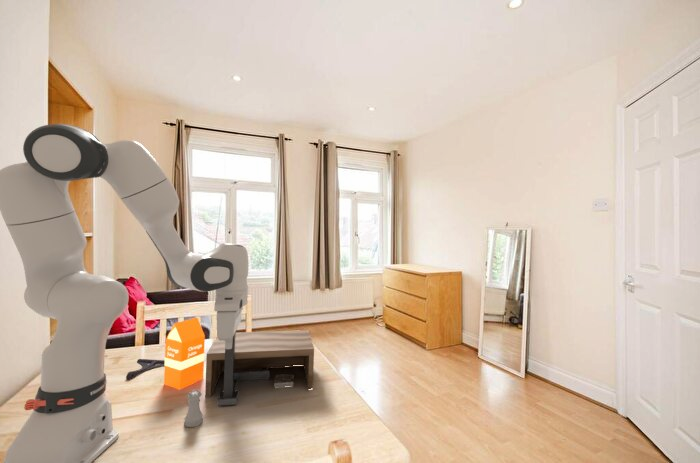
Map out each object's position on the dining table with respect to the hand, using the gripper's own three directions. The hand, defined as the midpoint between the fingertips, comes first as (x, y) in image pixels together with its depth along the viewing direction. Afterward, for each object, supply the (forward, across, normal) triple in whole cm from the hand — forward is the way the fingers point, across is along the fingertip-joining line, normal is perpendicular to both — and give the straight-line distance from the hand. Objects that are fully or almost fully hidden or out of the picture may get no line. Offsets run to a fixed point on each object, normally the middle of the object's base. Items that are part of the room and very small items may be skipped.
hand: (230, 346), depth 94 cm
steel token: (+17, -9, +16) cm, 25 cm away
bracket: (+17, -26, -32) cm, 45 cm away
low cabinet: (+16, -13, +9) cm, 23 cm away
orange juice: (+16, -15, -16) cm, 28 cm away
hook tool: (+16, -6, +4) cm, 18 cm away
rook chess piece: (+16, +10, -7) cm, 20 cm away
